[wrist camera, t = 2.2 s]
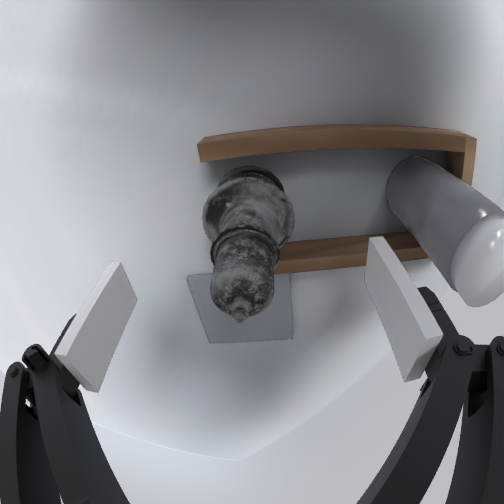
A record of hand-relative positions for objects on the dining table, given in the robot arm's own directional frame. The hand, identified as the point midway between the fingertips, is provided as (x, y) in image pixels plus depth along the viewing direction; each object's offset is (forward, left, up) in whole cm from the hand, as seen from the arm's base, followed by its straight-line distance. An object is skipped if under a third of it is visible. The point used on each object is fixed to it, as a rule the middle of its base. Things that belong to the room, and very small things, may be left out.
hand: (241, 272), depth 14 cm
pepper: (0, +14, -8) cm, 16 cm away
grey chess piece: (0, 0, -8) cm, 8 cm away
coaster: (+11, -2, -8) cm, 13 cm away
